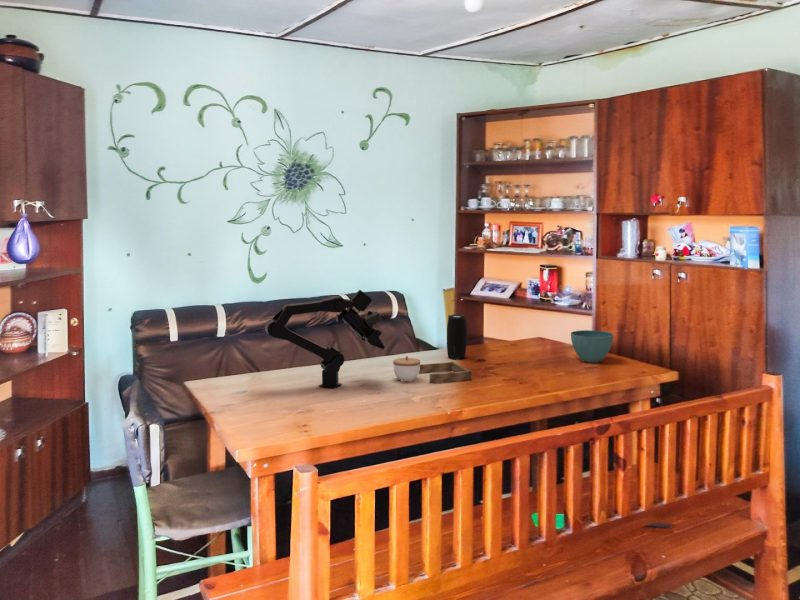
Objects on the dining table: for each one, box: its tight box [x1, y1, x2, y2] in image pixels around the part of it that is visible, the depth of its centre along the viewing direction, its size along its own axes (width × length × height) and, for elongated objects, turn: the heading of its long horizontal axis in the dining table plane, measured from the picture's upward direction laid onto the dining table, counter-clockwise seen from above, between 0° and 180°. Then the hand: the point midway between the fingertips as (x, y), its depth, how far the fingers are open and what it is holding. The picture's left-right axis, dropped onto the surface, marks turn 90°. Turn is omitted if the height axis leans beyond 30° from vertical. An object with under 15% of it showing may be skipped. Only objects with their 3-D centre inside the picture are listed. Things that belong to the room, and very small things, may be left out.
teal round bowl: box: [570, 329, 614, 363], centre depth 317 cm, size 18×18×12 cm
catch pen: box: [419, 361, 472, 384], centre depth 288 cm, size 17×18×4 cm
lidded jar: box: [392, 355, 421, 382], centre depth 282 cm, size 11×11×9 cm
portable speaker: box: [446, 313, 468, 361], centre depth 322 cm, size 9×9×20 cm
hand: (382, 347), depth 278 cm, fingers open, 4 cm apart
